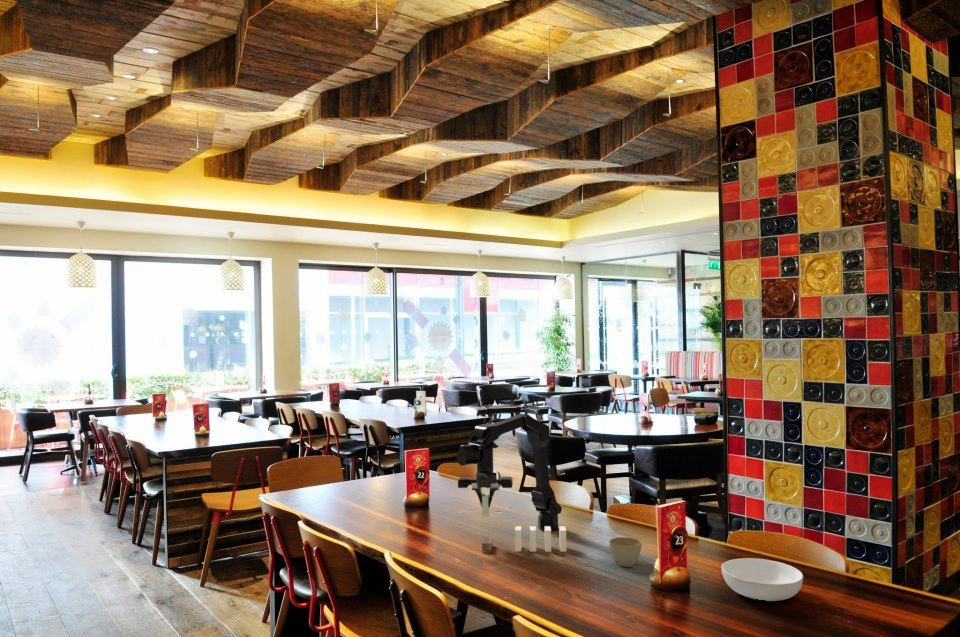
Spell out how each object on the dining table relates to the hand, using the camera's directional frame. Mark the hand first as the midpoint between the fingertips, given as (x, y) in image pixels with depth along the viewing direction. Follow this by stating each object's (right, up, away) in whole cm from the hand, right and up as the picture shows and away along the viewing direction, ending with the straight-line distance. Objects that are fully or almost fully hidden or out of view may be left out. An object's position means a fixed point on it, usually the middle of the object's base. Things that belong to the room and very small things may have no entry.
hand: (485, 507), depth 244 cm
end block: (0, -13, -5) cm, 14 cm away
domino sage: (0, -3, 0) cm, 3 cm away
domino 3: (+21, -13, -6) cm, 25 cm away
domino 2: (+16, -13, -6) cm, 21 cm away
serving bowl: (+76, -11, -50) cm, 91 cm away
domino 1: (+11, -13, -6) cm, 18 cm away
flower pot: (+44, -12, -23) cm, 51 cm away
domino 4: (+26, -12, -7) cm, 29 cm away
